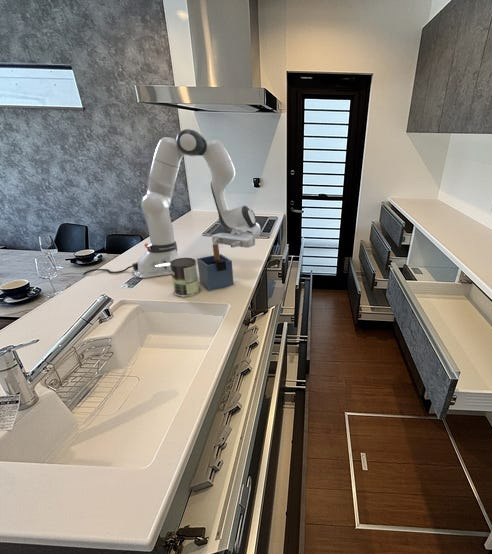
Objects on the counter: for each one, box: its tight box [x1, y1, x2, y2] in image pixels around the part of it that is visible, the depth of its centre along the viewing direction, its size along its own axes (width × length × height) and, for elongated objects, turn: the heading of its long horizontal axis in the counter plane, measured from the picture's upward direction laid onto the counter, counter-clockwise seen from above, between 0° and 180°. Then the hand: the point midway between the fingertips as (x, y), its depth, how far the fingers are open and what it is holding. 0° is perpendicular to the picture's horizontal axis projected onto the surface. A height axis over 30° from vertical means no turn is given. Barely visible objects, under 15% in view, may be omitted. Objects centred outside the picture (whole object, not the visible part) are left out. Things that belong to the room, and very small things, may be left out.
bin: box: [196, 253, 234, 291], centre depth 140 cm, size 12×12×12 cm
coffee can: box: [170, 257, 200, 298], centre depth 130 cm, size 10×10×14 cm
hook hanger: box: [212, 243, 226, 271], centre depth 134 cm, size 6×4×17 cm, turn 39°
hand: (223, 244), depth 137 cm, fingers open, 8 cm apart
